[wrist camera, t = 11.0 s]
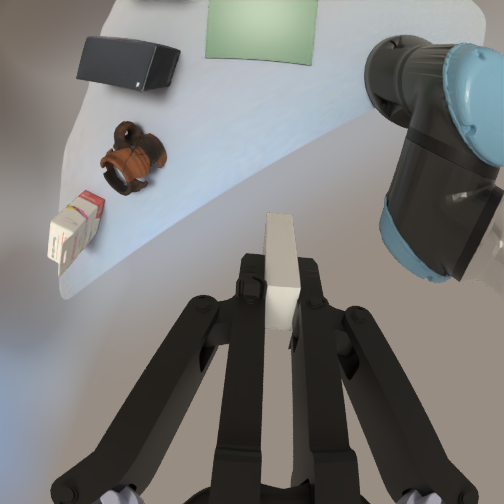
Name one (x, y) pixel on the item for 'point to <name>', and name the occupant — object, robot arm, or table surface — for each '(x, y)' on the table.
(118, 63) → the small box
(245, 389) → the robot arm
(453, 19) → the table surface
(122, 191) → the pottery mug
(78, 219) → the ink cartridge box
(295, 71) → the table surface
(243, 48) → the pitch
